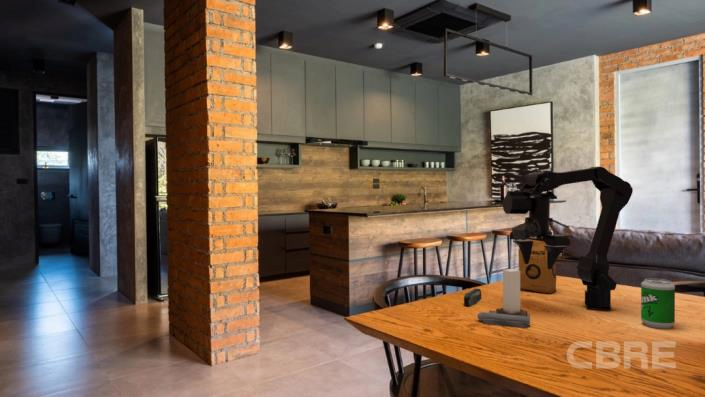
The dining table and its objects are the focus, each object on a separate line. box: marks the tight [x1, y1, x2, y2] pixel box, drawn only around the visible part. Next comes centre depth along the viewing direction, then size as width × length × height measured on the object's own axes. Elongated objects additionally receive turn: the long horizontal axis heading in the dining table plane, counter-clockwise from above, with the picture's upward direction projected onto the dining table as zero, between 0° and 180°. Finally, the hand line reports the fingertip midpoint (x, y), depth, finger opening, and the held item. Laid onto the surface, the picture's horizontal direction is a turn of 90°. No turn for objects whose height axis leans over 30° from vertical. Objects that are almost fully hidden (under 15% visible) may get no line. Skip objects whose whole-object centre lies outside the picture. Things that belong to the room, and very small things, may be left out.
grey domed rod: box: [477, 311, 531, 327], centre depth 124 cm, size 13×2×2 cm, turn 66°
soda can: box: [640, 277, 676, 330], centre depth 125 cm, size 8×8×12 cm
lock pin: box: [502, 268, 521, 313], centre depth 129 cm, size 3×3×13 cm
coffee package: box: [518, 229, 557, 294], centre depth 166 cm, size 10×12×22 cm
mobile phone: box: [463, 288, 482, 308], centre depth 146 cm, size 5×3×15 cm
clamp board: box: [482, 307, 531, 329], centre depth 128 cm, size 11×14×4 cm
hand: (537, 266), depth 140 cm, fingers open, 9 cm apart
